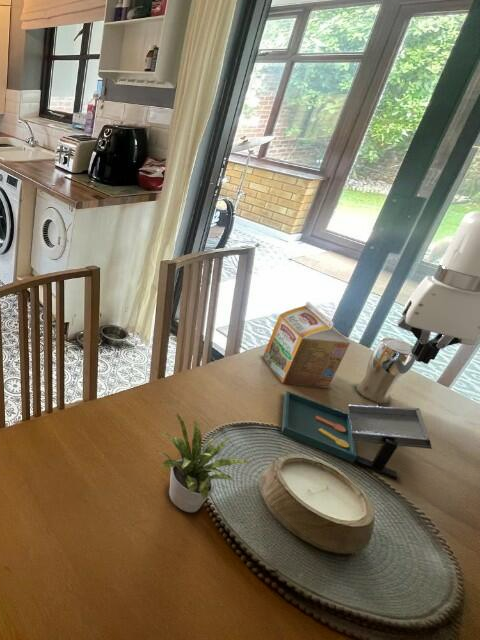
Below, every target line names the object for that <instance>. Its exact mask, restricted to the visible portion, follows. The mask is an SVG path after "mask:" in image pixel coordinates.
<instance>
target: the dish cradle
mask: <svg viewBox="0 0 480 640" xmlns="http://www.w3.org/2000/svg"><path fill="white" fill-rule="evenodd" d="M376 406H383V407H389V405H387V404H386V403H379V402H377V403H376ZM398 447H399V446H398V444H397V442H394V441H391V440H389V439H386V440H385V442H384V443H383V444H381V447H380V448H379V450H378V451H377V453H376V455H375V456H374V458H373V460H370V459H367V458H365V457H362V456H360V455H357V457H356V459H355V463H356V465H358V466H361V467H362V468H365V469H368V470H371V471H372V472H375V473H377V474H380V475H382V476H385V477H387V478H389V479H392V480H395V481H397V480H398V478H399V476H398V472H397V470H395V469H392V468H390V467H387V466H386V465H387V464H388V462H389V460H390V459H391V457H392V456H393V454H394V453H395V451H396V450H397V448H398Z"/></svg>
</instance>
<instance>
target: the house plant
mask: <svg viewBox="0 0 480 640" xmlns="http://www.w3.org/2000/svg"><path fill="white" fill-rule="evenodd" d="M171 409H172V411H173V413H174V415H175V416H176V418H177V420H178V421H179V424H180V427H181V432H182V436H183V439H182V438H180V437H172V436H171V435H170V434H167V433H164V432H161V433H156V434H157V435H159V436H162V437H165V438H167V439H170V440H171V442H172V444H173V445H174V446H175V448H176V449H177V450H178V452H179V454H180V457H181V459H178V460H175V459H172V458H171V457H170V456H169V455H168V454H167V453H165V452H162V451H159V450H157V451H156V450H155V452H156V453H158V454H160V455H162V456H164V457H166V458H167V459H165V461H163V463H162V464H161V465H160V467H159V468H162V467H163V468H170V479H169V490H168V494H169V498H170V500H171V502H172V503H173V504H174V505H175V507H177V508H178V509H180V510H181V511H184V512H186V513H196V512H198V511H199V510H200V508H201V507H202V506H203V505H204V503H205V502H206V501H207V499H208V498H209V497H210V495H212V493H213V491H214V490H215V481H214V480H215V479H216V480H228V481H231V482H235V481H234V479H233V477H232V476H231V475H229V474H226V473H224V472H223V471H222V470H220V469H218V468H219V467H226V466H232V465H235V464H251V462H250V461H248V460H245V459H242V458H237V457H231V458H230V457H229V458H220V459H217V460H215V461H214V462H211V463H209V462H210V461H212V459H213V458H214V457H215V456H216V455H218V454H219V453H220V452H221V451H222V450H223V448H224V447H225V444H226V443H227V440H228V438H225V439H224V440H223V441H222V442H221V443H219V444H218V445H217V446H215V445H212V444H211V445H208V444H209V443H210V442H212V441H214V440H215V439H216V437H213V438H211V439H209V440H208V441H207V442H206V443H205V444H204V446H203V447H202V444H203V438H202V432H201V428H200V427H199V424H198V423H197V422H196V421H193V435H192V441H191V444H190V441H189V436H188V431H187V428H186V425H185V422H184V420H183V419H182V417H181V416H180V415H179V413H177V411H176V410H175V409H173V408H171ZM203 450H204V451H203ZM202 451H203V453H202ZM208 463H209V464H208ZM211 473H214V474H211Z"/></svg>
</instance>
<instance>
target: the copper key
mask: <svg viewBox="0 0 480 640" xmlns="http://www.w3.org/2000/svg"><path fill="white" fill-rule="evenodd" d="M315 419H316V420H318V421H320V422H322V423H324V424H327V425H329V426H331V427H333V428H334V429H335V430H337V431H338V432H341V433H345V432H346V429H345V428H344V427H343V426H341V425H339V424H334V423H332V422H330V421H327V420H325V419H323V418H321V417H319V416H316V418H315Z"/></svg>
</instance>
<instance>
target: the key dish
mask: <svg viewBox="0 0 480 640" xmlns="http://www.w3.org/2000/svg"><path fill="white" fill-rule="evenodd" d="M347 407H348V413H349V414H350V420H351V427H352V431H351V433H352V437H353V441H355V442H358V443H369V444H376V445H377V444H378V445H383V443H384V442H385V440H386V439H389V440H391V441H394V442H397V444H398V447H408V448H419V449H429V450H432V449H433V447H432V443H431V439H430V436H429V432H428V429H427V427H426V424H425V421H424V418H423V415H422V412H421V409H420V408H418V407H398V406H388V407H383V406H377V405H365V404H364V405H363V404H347Z"/></svg>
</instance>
